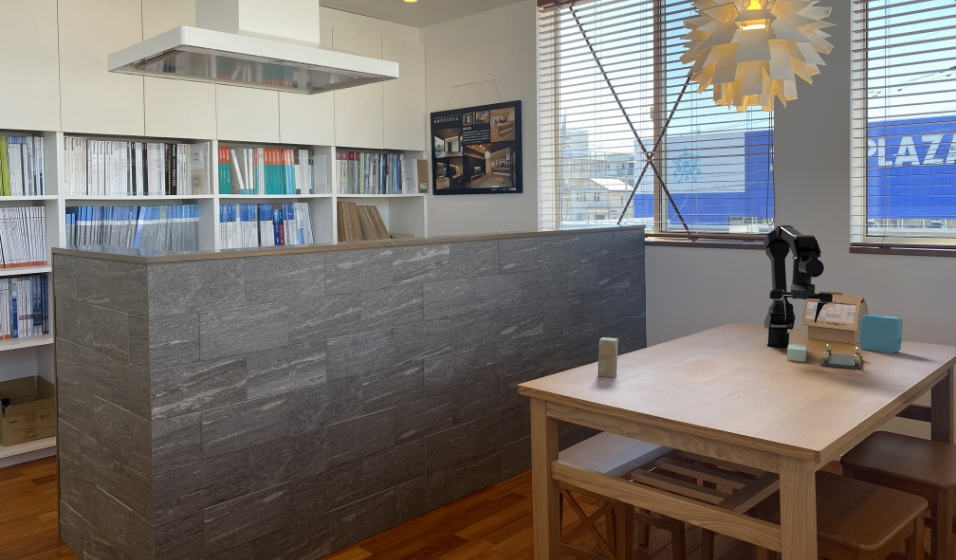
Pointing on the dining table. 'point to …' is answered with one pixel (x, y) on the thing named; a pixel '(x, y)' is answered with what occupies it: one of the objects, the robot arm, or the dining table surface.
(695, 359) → the dining table surface
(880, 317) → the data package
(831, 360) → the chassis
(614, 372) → the box
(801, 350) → the pale green block
